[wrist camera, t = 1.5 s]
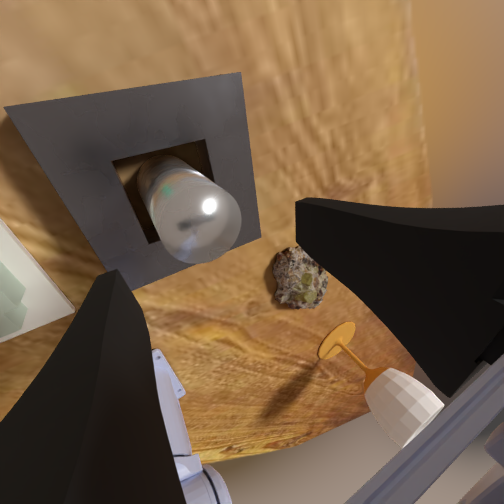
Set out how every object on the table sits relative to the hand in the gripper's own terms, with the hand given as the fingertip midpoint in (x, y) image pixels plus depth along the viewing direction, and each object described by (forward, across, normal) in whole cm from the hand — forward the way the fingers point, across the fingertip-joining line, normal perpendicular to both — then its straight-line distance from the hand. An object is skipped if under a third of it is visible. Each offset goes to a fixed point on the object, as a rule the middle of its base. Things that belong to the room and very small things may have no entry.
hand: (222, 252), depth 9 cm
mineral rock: (+11, -11, +15) cm, 22 cm away
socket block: (+11, 0, 0) cm, 11 cm away
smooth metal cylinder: (+11, 0, 0) cm, 11 cm away
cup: (+10, -20, +36) cm, 43 cm away
